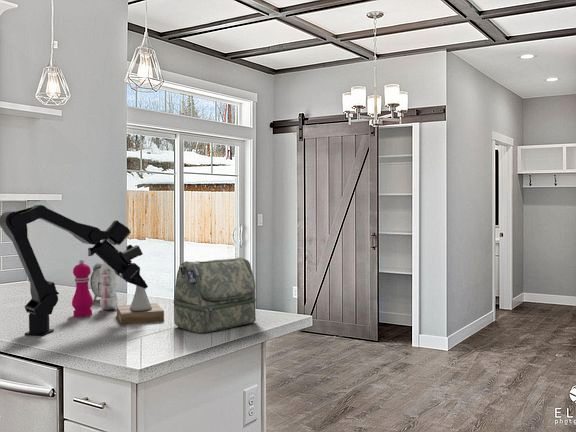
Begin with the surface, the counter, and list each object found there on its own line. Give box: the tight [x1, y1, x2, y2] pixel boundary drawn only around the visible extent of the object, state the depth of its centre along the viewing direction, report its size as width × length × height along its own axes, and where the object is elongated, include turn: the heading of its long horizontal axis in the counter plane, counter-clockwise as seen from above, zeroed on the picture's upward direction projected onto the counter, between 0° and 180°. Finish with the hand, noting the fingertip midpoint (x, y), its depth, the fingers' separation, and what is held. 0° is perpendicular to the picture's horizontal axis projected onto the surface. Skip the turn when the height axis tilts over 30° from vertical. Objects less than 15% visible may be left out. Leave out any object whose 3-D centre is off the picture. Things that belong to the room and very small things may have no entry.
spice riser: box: [116, 302, 165, 325], centre depth 213 cm, size 16×14×4 cm
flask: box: [130, 279, 152, 311], centre depth 211 cm, size 7×7×10 cm
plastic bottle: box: [99, 260, 119, 311], centre depth 230 cm, size 6×7×20 cm
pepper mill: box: [71, 259, 94, 318], centre depth 220 cm, size 7×7×20 cm
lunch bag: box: [173, 257, 257, 334], centre depth 200 cm, size 26×18×22 cm
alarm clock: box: [89, 262, 103, 300], centre depth 253 cm, size 12×7×15 cm, turn 49°
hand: (144, 285), depth 211 cm, fingers open, 9 cm apart
